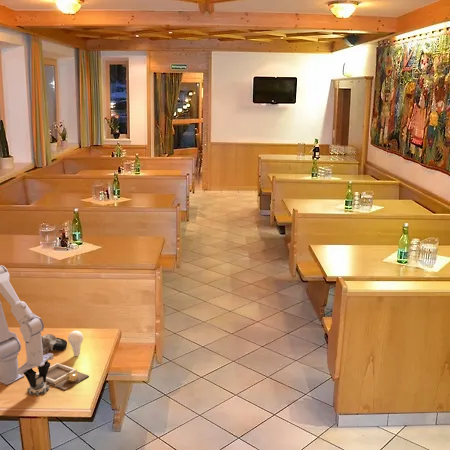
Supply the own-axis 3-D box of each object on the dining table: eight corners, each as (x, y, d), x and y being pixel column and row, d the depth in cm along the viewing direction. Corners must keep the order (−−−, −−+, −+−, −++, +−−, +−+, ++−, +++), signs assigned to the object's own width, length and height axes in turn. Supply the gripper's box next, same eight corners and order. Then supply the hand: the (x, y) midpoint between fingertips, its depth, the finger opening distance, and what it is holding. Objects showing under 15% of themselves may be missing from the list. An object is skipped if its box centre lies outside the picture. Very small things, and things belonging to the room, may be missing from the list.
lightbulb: (69, 360, 235) (67, 335, 232) (69, 353, 240) (67, 329, 238) (84, 357, 236) (82, 333, 233) (84, 351, 242) (82, 327, 239)
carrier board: (33, 378, 220) (33, 377, 220) (58, 365, 230) (58, 364, 230) (64, 390, 211) (64, 389, 211) (89, 376, 221) (88, 375, 221)
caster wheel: (68, 351, 248) (56, 358, 238) (46, 343, 250) (33, 350, 241) (71, 337, 247) (59, 343, 237) (49, 329, 249) (35, 335, 240)
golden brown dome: (64, 381, 216) (63, 375, 216) (72, 376, 220) (72, 370, 219) (72, 384, 214) (71, 378, 214) (80, 379, 218) (80, 373, 217)
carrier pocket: (35, 376, 220) (35, 374, 220) (57, 365, 229) (57, 362, 229) (54, 384, 215) (54, 381, 214) (76, 372, 223) (76, 369, 223)
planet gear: (23, 392, 210) (21, 378, 209) (40, 383, 217) (38, 370, 215) (37, 398, 206) (35, 384, 205) (53, 388, 213) (52, 375, 211)
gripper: (24, 361, 200) (28, 396, 203) (57, 345, 211) (60, 378, 215) (12, 356, 203) (16, 390, 207) (44, 340, 215) (48, 373, 218)
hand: (37, 384), depth 211 cm, fingers closed on planet gear, 4 cm apart
